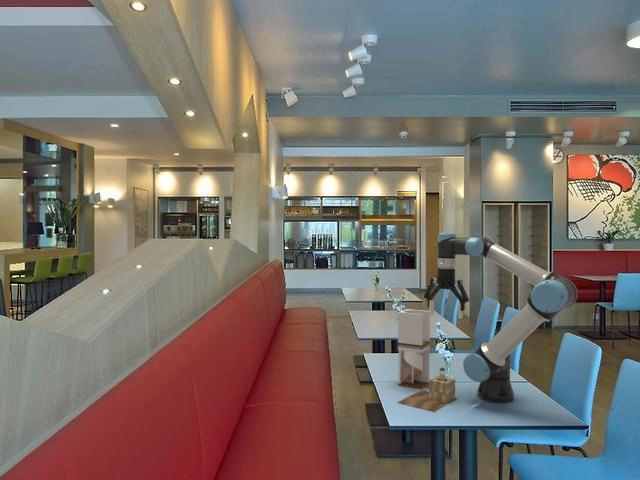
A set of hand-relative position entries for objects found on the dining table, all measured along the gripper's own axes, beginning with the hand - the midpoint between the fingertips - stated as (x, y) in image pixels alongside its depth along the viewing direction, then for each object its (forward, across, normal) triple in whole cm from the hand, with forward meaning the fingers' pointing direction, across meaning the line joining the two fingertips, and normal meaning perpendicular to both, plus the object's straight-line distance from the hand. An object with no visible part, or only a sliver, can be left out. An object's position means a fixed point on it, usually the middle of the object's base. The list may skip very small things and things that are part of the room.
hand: (445, 316), depth 226 cm
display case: (+35, -16, +1) cm, 38 cm away
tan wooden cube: (+33, +3, -9) cm, 35 cm away
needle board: (+35, -1, -15) cm, 38 cm away
